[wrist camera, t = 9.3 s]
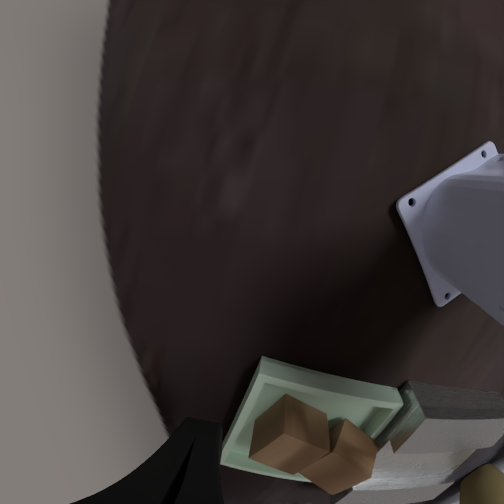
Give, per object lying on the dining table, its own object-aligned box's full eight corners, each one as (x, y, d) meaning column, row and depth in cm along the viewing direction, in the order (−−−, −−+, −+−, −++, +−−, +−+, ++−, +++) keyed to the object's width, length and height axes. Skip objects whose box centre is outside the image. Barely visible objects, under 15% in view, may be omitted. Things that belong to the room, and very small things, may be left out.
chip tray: (396, 387, 18) (404, 404, 16) (328, 469, 21) (329, 483, 19) (261, 355, 19) (258, 373, 17) (220, 447, 22) (216, 463, 20)
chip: (378, 443, 17) (371, 477, 13) (344, 463, 18) (332, 495, 15) (345, 418, 18) (333, 451, 15) (312, 440, 20) (296, 471, 16)
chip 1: (330, 451, 15) (283, 433, 15) (293, 474, 16) (248, 458, 16) (326, 413, 19) (285, 393, 19) (294, 438, 20) (254, 420, 20)
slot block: (498, 391, 17) (517, 417, 13) (424, 473, 21) (432, 499, 17) (407, 380, 18) (426, 418, 14) (328, 473, 22) (330, 506, 17)
